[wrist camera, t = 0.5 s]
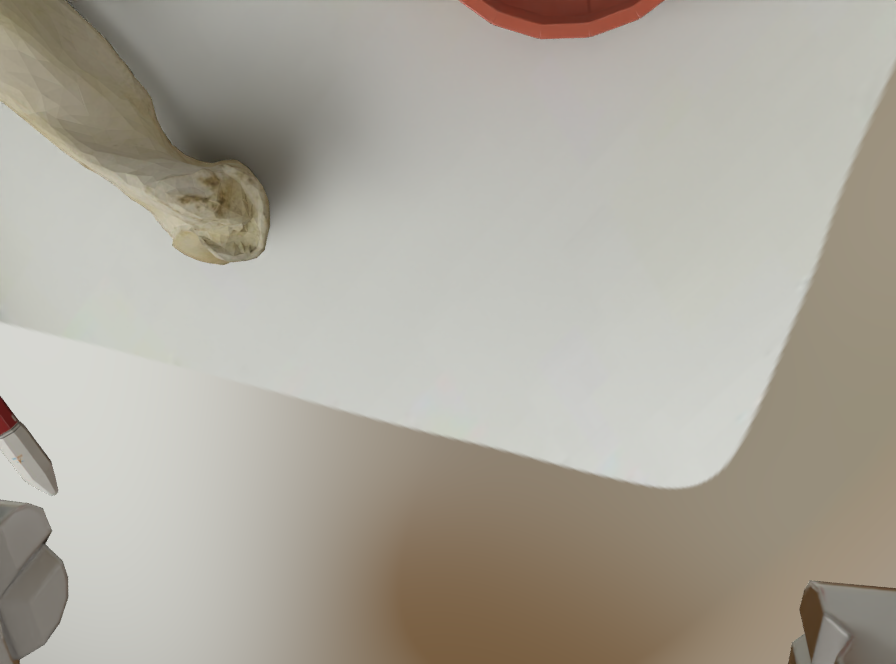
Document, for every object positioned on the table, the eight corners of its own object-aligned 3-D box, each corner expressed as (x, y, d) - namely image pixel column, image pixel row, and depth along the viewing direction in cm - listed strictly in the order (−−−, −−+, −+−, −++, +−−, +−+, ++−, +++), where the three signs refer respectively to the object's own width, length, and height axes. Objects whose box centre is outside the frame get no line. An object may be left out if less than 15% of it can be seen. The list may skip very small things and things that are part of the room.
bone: (-405, -32, 30) (-237, -256, 29) (-234, 13, 38) (-98, -162, 37) (127, 399, 34) (291, 213, 33) (179, 356, 42) (312, 206, 41)
